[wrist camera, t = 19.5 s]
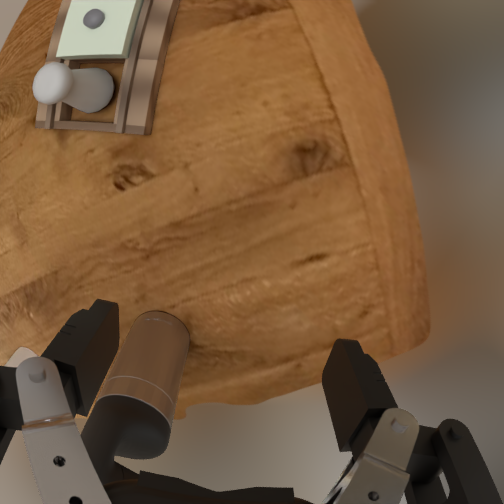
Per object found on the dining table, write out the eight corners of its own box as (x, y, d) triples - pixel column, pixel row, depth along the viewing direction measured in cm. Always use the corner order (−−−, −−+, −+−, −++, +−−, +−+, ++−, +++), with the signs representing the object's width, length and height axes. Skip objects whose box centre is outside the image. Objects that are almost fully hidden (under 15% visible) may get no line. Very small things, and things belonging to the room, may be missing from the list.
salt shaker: (104, 121, 35) (49, 122, 23) (74, 101, 34) (14, 97, 22) (128, 82, 34) (80, 67, 22) (97, 63, 32) (43, 45, 20)
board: (150, 134, 36) (140, 135, 33) (46, 127, 35) (30, 128, 31) (183, -11, 29) (177, -23, 25) (75, -5, 28) (62, -13, 24)
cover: (129, 58, 30) (118, 52, 27) (66, 59, 29) (51, 55, 26) (146, -8, 27) (138, -18, 23) (83, -3, 26) (70, -11, 23)
